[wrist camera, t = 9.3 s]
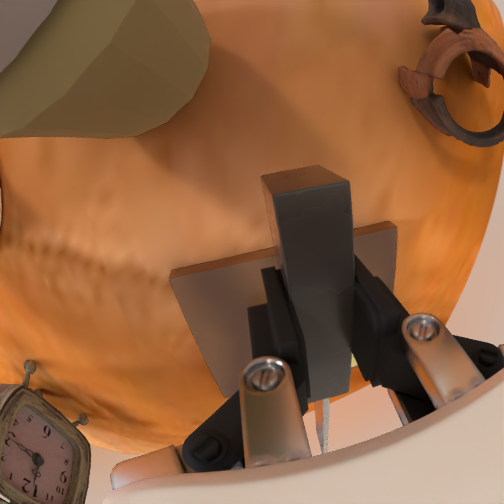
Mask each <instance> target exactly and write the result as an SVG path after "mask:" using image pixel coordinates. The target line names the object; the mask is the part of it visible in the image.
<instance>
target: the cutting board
mask: <svg viewBox="0 0 504 504" xmlns="http://www.w3.org/2000/svg"><path fill="white" fill-rule="evenodd" d="M353 236H354V254H355V255H356V256H357V257H358V258H359V259H360V261H361V262H362V263H363V264H364V265H365V267H366V268H367V269H368V270H369V271H370V272H371V274H372V275H373V276H374V277H375V276H378V277H379V278H380V279H381V280H382V281H383V282H384V284H385V285H386V286H387V287H388V288H389V290H390V291H391V292H392V293H393V288H394V278H395V266H396V250H397V226H395V225H394V224H393V223H391V222H390V221H388V222H383V223H379V224H374V225H370V226H366V227H361V228H357V229H353ZM272 266H275V269H276V270H277V269H278V265H277V259H276V254H275V248H274V247H273V248H268V249H264V250H260V251H255V252H251V253H246V254H242V255H238V256H233V257H229V258H224V259H220V260H215V261H211V262H207V263H202V264H198V265H193V266H189V267H185V268H180V269H176V270H172V271H171V273H170V277H169V281H170V284H171V286H172V289H173V291H174V293H175V296H176V298H177V300H178V303H179V305H180V307H181V310H182V312H183V314H184V317H185V319H186V321H187V323H188V326H189V328H190V330H191V332H192V334H193V336H194V339H195V341H196V343H197V345H198V347H199V349H200V351H201V353H202V355H203V357H204V359H205V361H206V363H207V365H208V367H209V369H210V371H211V373H212V375H213V377H214V379H215V381H216V383H217V385H218V387H219V389H220V391H221V393H222V394H223V396H224V398H228V397H232V396H233V395H234V394H235V393H236V392H237V391H238V390H239V374H240V372H241V370H242V368H243V367H244V366H245V365H246V364H247V363H248V362H250V361H252V360H253V358H252V349H251V340H250V331H249V322H248V312H247V307H251V306H256V305H260V304H265V303H267V298H266V293H265V288H264V284H263V279H262V274H261V269H263V268H268V267H272ZM357 366H358V365H357ZM357 366H354V367H357ZM354 367H351V368H354Z"/></svg>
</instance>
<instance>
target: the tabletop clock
mask: <svg viewBox="0 0 504 504" xmlns="http://www.w3.org/2000/svg"><path fill="white" fill-rule="evenodd" d="M24 368H25V370H26V375H25V377H24V380H23V383H22V385H16V384H0V494H1V495H2V496H4V497H5V498H7V499H9V500H10V503H8V502H7V501H5V500H3V499H2V498H0V504H85V499H86V495H87V490H88V484H89V475H90V467H91V449H90V444H89V442H88V441H87V439H86V438H85V436H84V435H83V434H82V433H81V432H80V431H79V430H78V429H77V428H76V426H78V425H79V424H81V425H86V424H87V423H88V421H89V420H88V417H87V416H86V415H84V414H80V415H79V416H78V421H75V422H73V423H71V422H70V421H69V420H68V419H67V418H66V417H65V416H64V415H63V414H62V413H61V412H60V411H58V410H57V409H56V408H55V407H53V406H52V405H51V404H50V403H49V402H47V401H46V400H45V399H44V398H43V394H42V392H41V391H40V390H38V389H35V390H32V389H30V388H28V385H29V379H30V374H33V373H34V372H35V371H36V365H35V363H34V362H33V361H31V360H27V361H25V363H24Z"/></svg>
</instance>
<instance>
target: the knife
mask: <svg viewBox="0 0 504 504" xmlns="http://www.w3.org/2000/svg"><path fill="white" fill-rule="evenodd" d="M261 182H262V187H263V192H264V197H265V202H266V207H267V212H268V217H269V222H270V227H271V233H272V238H273V243H274V248H275V254H276V259H277V265H278V269H280V272H281V275H282V278H283V281H284V284H285V287H286V290H287V293H288V296H289V299H290V301H291V302H293V305H294V308H295V311H296V314H297V317H298V320H299V323H300V326H301V329H302V332H303V335H304V339H305V344H306V352H307V362H308V372H309V382H310V393H311V398H307V402H308V403H311V402H315V414H316V430H317V435H318V439H319V443H320V447H321V451H322V454H325V453H327V448H328V429H329V398H330V397H334V396H337V395H341V394H344V393H347V392H349V384H350V374H351V362H352V352H351V350H352V332H353V299H354V286H355V271H354V236H353V218H352V203H351V191H350V182H349V181H348V180H346V179H344V178H342V177H341V176H339V175H337V174H335V173H333V172H331V171H329V170H327V169H325V168H323V167H321V166H319V165H315V166H309V167H303V168H297V169H292V170H287V171H281V172H276V173H271V174H266V175H262V176H261Z"/></svg>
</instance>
